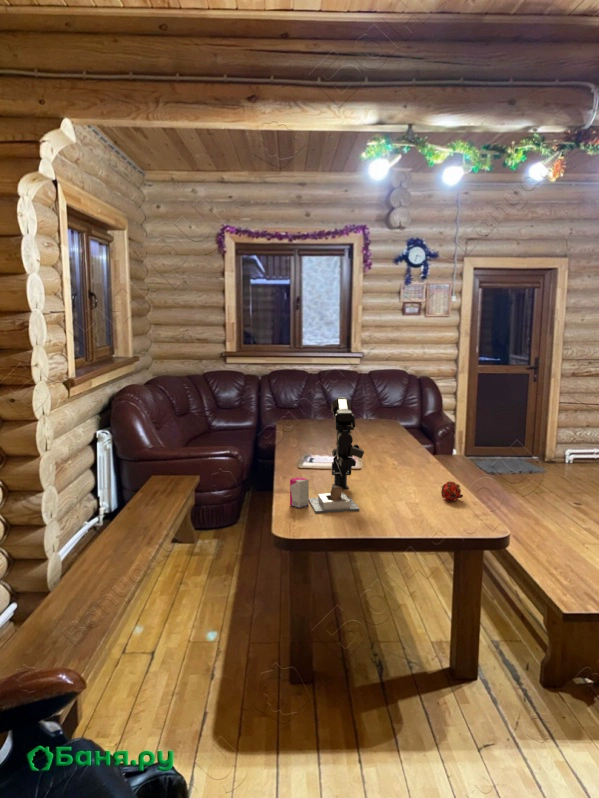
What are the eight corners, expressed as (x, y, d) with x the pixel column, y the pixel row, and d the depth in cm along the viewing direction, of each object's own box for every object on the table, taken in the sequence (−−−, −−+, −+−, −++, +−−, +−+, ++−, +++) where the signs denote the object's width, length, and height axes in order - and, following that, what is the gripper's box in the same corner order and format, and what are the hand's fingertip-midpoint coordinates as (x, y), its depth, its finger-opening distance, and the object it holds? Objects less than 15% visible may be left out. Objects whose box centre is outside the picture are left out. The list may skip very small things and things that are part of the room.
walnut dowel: (327, 500, 233) (330, 485, 232) (337, 501, 234) (340, 486, 233) (330, 505, 229) (333, 488, 227) (340, 505, 230) (343, 489, 228)
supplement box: (309, 505, 232) (309, 479, 231) (298, 509, 228) (299, 482, 227) (299, 502, 237) (299, 476, 235) (289, 505, 232) (289, 479, 231)
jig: (308, 500, 239) (308, 491, 238) (349, 498, 242) (349, 489, 241) (315, 513, 223) (315, 503, 223) (359, 510, 226) (359, 501, 226)
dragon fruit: (449, 498, 247) (454, 511, 235) (434, 487, 246) (438, 500, 235) (462, 484, 244) (467, 497, 233) (447, 473, 244) (452, 485, 232)
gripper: (368, 446, 227) (367, 482, 229) (357, 435, 245) (356, 469, 248) (341, 447, 225) (341, 484, 228) (332, 436, 243) (331, 470, 246)
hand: (343, 476), depth 237 cm, fingers closed
